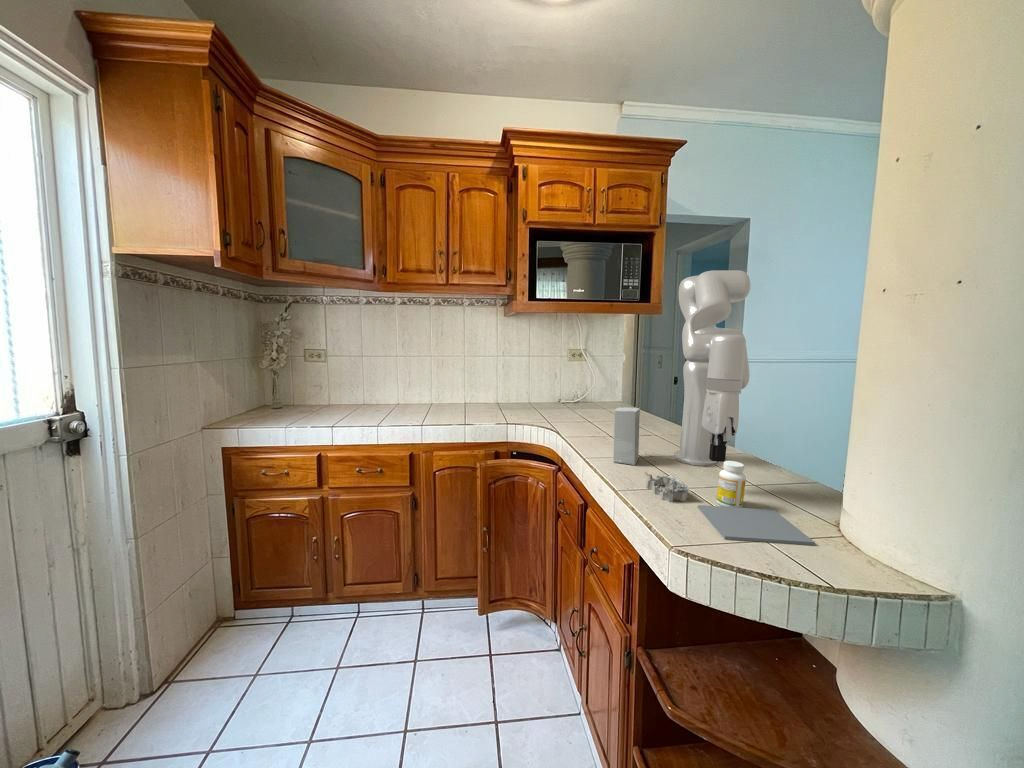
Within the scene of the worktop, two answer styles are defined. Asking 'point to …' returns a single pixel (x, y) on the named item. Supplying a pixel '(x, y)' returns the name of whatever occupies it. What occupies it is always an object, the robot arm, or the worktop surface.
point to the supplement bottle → (731, 485)
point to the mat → (753, 525)
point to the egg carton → (667, 488)
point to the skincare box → (626, 435)
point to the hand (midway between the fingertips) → (716, 460)
